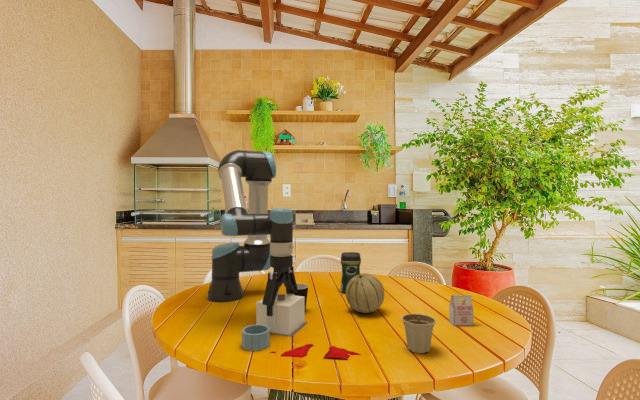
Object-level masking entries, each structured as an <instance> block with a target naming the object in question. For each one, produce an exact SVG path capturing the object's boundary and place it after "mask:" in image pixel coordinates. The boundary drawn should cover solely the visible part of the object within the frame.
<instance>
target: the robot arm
mask: <svg viewBox="0 0 640 400" xmlns="http://www.w3.org/2000/svg"><path fill="white" fill-rule="evenodd" d="M217 173H218V177H219V179H220V181H221V184H222V191H223V192H222V193H223V202H224V208H225V209H224V211H225V213H224V214H221V219H220V227H221V229H220V231H221V235H223V236H227V237H236V236H237V237H238V236H240V237H241V236H247V238H246V239H245V240H244V242H243V245H241V244H240V243H239V242H229V243H222V244H218V245H215V246H214V247H213V248H212V249H211V250H212V251H211V281H210V284H209V288H208V291H207V293H206V294H207V297H206V298H207V300H209V301H211V302H217V303H218V302H220V303H222V302H231V301H235V300H239V299H242V298H243V297H244V290H243V287H242V284H241V280H240V273H245V272H262V271H268V270H270V269H271V268H273V272H268V273H267V279H266V280H267V281H266V285H265V290H264V292H263V293H264V294H263V298H262V299H263V302H262V304H263V305H266V306H267V326H275V311H276V305H274V303H275V300H276V297H277V294H279V290H280V288H281V287H282V285H284V287H285V291H286V290H287V292H288V293H287V295H294V294H297V291H296V290H297V284H298V283H297V280H296V276H295V273H294V272H295V271H294V265H293V264H294V262H293V259H294V257H293V253H294V252H293V249H294V245H293V244H294V243H293V242H294V240H293V239H294V237H293V235H294V232H293V231H294V214H293V210H292V209H291V208H271V209H270V212H269V213H268V207H269V206H268V203H269V201H268V200H269V186H270V184H271V183H272V182H273V179H275V178H276V175H277V164H276V159H275V157H274V155H273V153H272V152H270V151H263V150H261V151H260V150H259V151H258V150H257V151H256V150H242V149H237V150H233V151H229V153H226V155H225V156H224V157H222V159H221V160H220V162H219V164H218V167H217ZM242 178H244V179H245V183H246V184H247V185H248V202H247V203H248V209H247V203H246V199H245V192H244V187H243V181H242ZM268 235H269V236H270V237H269V238H270V239H268ZM293 286H294V287H293Z"/></svg>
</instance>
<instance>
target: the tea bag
mask: <svg viewBox="0 0 640 400" xmlns="http://www.w3.org/2000/svg"><path fill="white" fill-rule="evenodd" d="M472 300H473V299H472V295H471V294H461V295H459V294H451V296H450V301H449V306H448V307H449V315H448V316H449V318H448V320H449V323H450V325H452V326H453V327H474V304H473V301H472Z"/></svg>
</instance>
